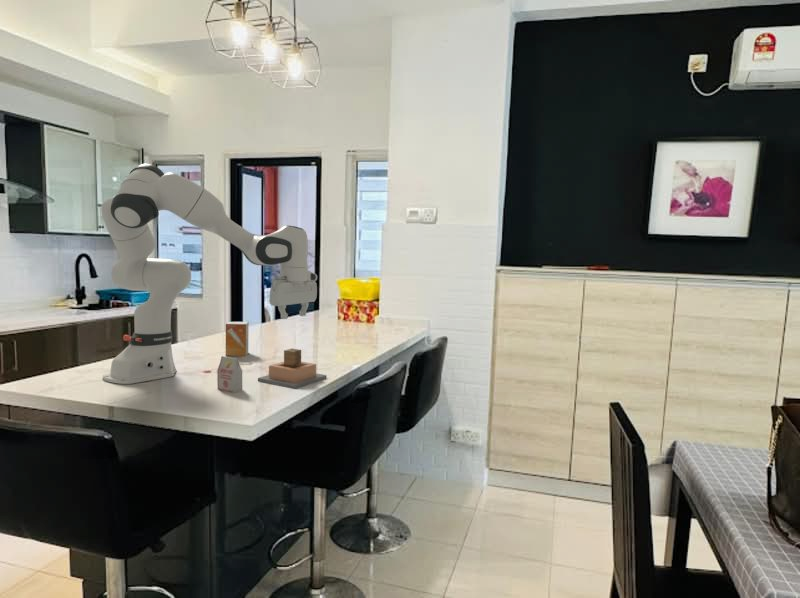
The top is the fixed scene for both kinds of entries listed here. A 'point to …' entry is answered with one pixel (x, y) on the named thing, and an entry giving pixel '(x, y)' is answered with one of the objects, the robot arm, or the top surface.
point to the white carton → (229, 375)
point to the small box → (237, 338)
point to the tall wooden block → (292, 358)
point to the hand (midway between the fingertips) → (293, 317)
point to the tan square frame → (292, 375)
